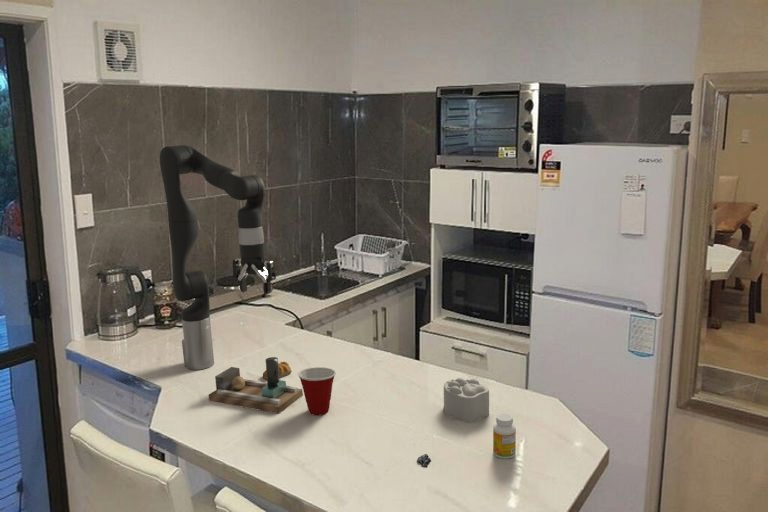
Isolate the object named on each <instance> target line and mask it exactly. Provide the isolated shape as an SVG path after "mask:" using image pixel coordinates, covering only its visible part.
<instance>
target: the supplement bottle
mask: <svg viewBox="0 0 768 512" xmlns="http://www.w3.org/2000/svg"><path fill="white" fill-rule="evenodd" d="M495 420H496V421H495V423H494V424H493V428H492V429H493V430H492V431H493V432H492V433H493V435H492V439H493V440H492V442H493V445H492V446H493V447H492V450H493V455H494V456H495V457H497V458H499V459H503V460H505V459H506V460H507V459H511V458H514V457H515V456H516V451H517V449H516V448H517V447H516V446H517V445H516V443H517V442H516V438H517V437H516V434H517V433H516V426H515V424H513V423H514V417H513V416H512V415H511V414H508V413H499V414H497V415H496V417H495Z"/></svg>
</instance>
